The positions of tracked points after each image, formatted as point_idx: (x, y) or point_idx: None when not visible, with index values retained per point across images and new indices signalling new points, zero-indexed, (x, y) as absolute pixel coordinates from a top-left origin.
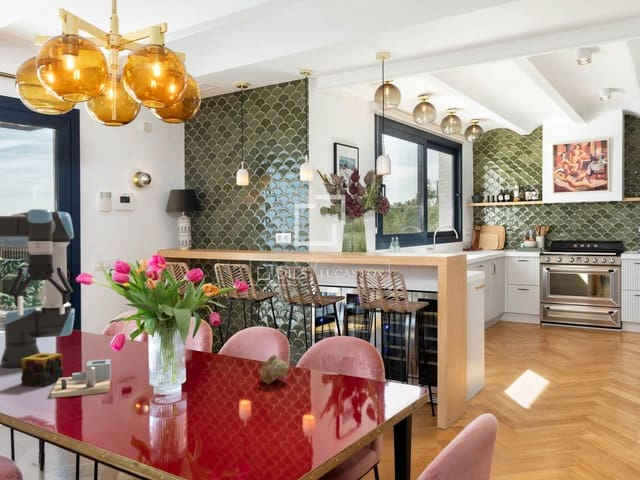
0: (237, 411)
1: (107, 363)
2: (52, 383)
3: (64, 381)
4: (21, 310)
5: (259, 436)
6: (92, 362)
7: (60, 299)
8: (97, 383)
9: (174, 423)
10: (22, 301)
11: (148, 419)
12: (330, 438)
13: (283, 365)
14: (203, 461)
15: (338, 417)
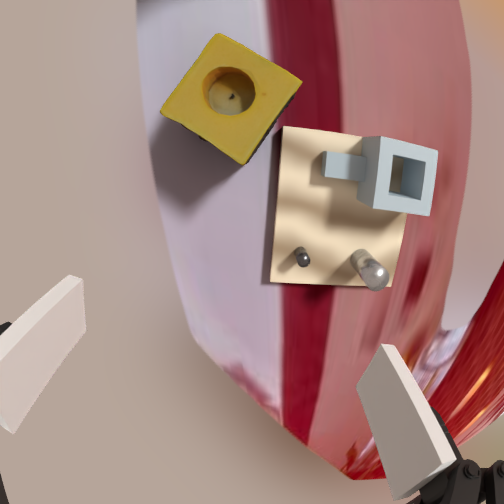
0: (460, 401)
1: (425, 207)
2: (265, 137)
3: (304, 265)
4: (67, 331)
5: None
6: (391, 155)
7: (390, 473)
8: (377, 238)
9: None
10: (20, 357)
11: None
12: None
13: None
14: (376, 470)
15: (488, 415)
